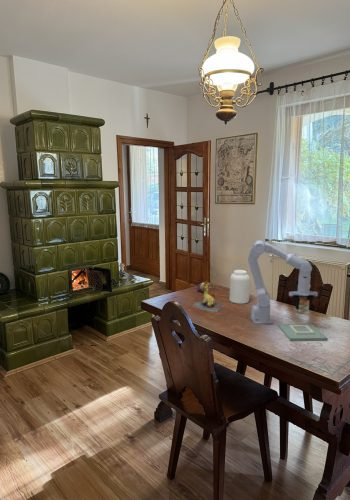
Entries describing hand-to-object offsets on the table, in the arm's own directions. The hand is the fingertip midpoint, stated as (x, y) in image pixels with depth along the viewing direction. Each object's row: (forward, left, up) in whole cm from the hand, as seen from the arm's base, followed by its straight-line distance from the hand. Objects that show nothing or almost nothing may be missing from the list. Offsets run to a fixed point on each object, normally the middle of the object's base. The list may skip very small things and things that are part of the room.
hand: (302, 309), depth 181 cm
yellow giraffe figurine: (-45, +31, -9) cm, 56 cm away
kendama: (-43, +56, -9) cm, 71 cm away
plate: (-4, -10, -9) cm, 14 cm away
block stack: (0, 0, -2) cm, 2 cm away
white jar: (-24, +41, -9) cm, 48 cm away
